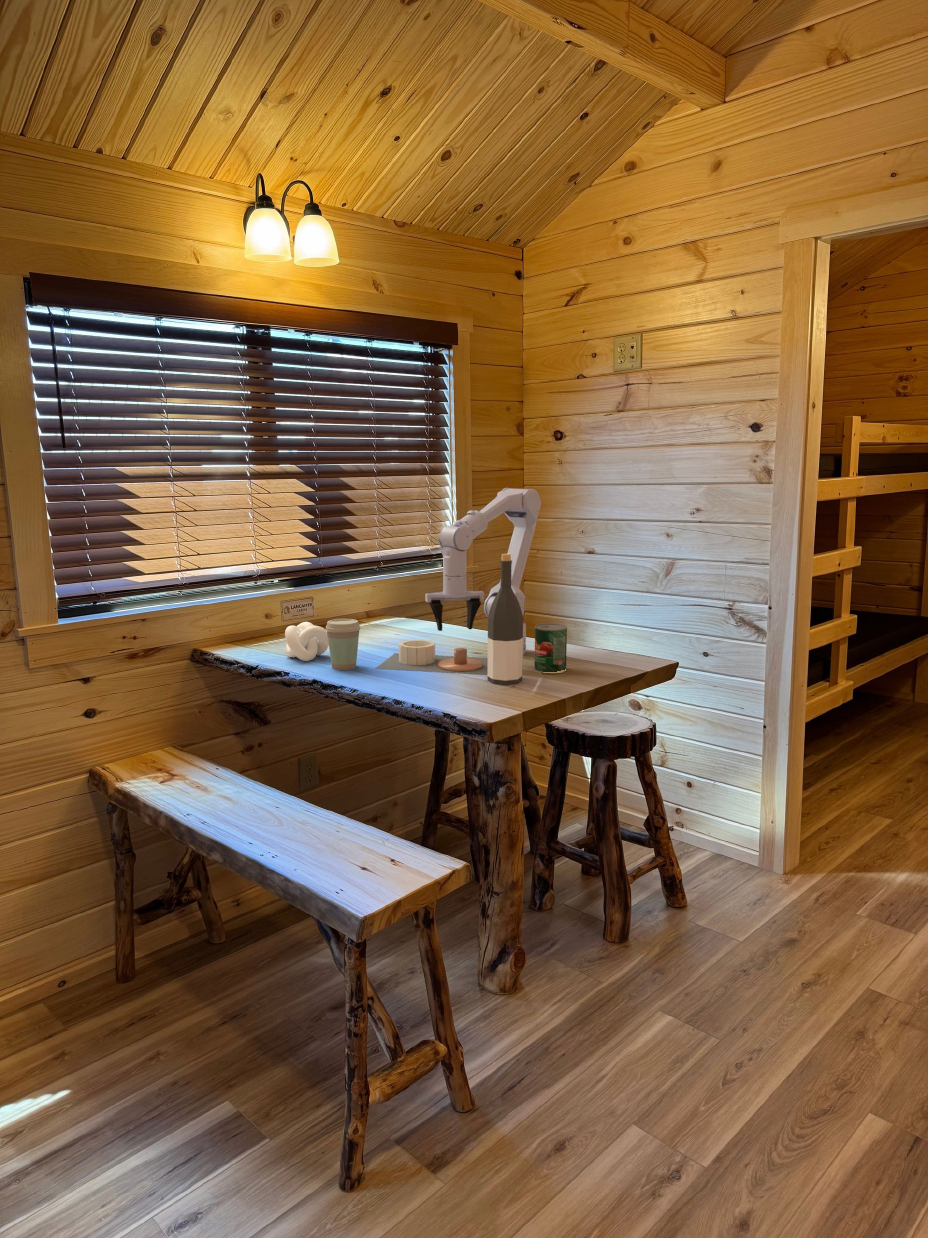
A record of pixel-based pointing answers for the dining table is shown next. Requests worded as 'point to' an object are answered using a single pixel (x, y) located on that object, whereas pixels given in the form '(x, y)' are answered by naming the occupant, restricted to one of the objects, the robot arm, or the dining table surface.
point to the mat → (430, 665)
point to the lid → (460, 662)
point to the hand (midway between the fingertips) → (454, 629)
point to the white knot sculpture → (306, 641)
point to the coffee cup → (343, 642)
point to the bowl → (416, 652)
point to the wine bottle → (505, 632)
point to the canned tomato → (550, 647)
